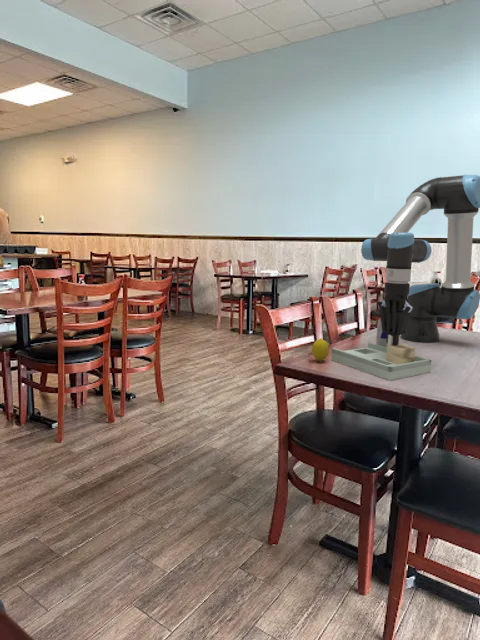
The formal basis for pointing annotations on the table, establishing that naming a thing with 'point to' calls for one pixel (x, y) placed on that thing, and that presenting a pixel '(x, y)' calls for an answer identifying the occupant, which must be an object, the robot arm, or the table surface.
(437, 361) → the table surface
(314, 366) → the table surface
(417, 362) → the sage tray
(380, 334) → the energy drink
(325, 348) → the lemon
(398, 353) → the maple block
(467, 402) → the table surface
